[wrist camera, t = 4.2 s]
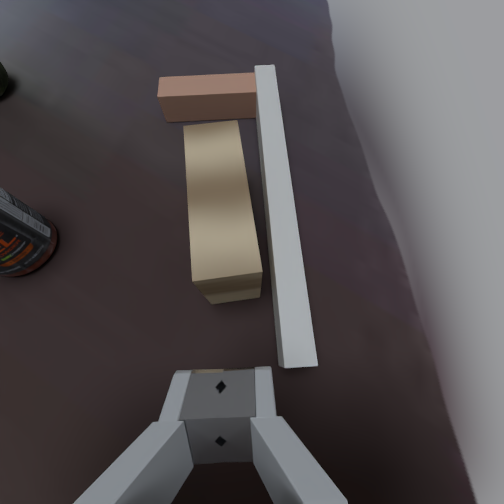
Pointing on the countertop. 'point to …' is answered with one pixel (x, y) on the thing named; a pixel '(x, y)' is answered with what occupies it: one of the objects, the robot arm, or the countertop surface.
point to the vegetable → (3, 79)
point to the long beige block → (220, 214)
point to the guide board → (273, 183)
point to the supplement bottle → (23, 237)
